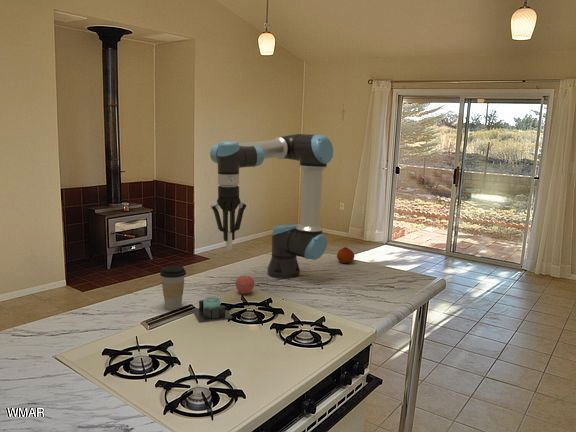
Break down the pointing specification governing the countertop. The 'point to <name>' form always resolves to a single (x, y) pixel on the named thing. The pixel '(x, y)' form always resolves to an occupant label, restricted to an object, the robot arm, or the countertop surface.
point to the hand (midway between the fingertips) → (229, 249)
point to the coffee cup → (173, 286)
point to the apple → (244, 284)
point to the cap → (211, 303)
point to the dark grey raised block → (211, 313)
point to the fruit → (345, 255)
